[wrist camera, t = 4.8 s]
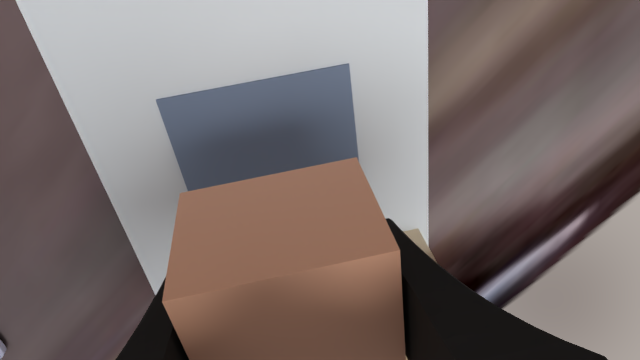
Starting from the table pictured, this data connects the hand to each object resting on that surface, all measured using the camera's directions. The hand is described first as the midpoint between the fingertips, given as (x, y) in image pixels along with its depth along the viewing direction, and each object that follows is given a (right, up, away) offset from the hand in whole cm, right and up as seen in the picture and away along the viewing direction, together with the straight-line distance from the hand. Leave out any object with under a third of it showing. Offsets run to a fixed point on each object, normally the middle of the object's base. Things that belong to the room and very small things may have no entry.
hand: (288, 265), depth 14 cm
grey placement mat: (-1, +4, +5) cm, 7 cm away
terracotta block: (0, +1, +1) cm, 1 cm away
